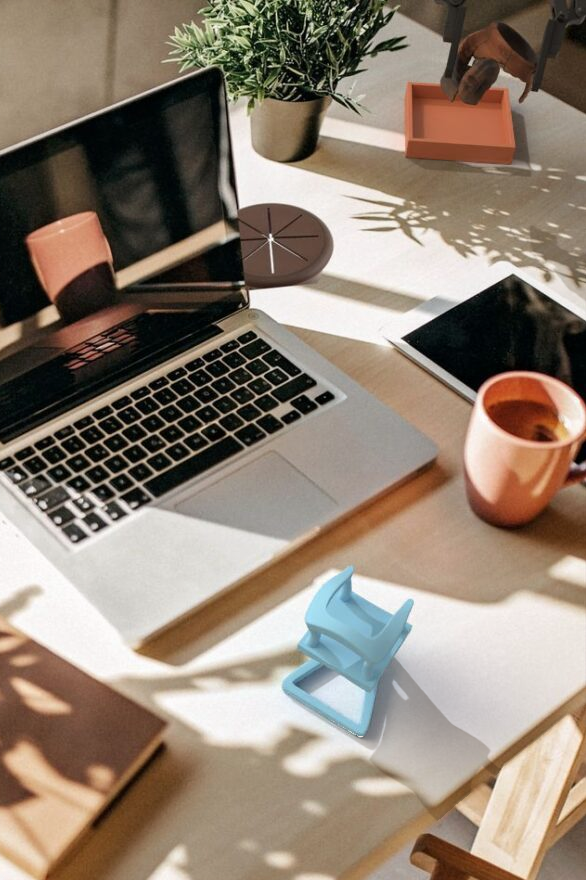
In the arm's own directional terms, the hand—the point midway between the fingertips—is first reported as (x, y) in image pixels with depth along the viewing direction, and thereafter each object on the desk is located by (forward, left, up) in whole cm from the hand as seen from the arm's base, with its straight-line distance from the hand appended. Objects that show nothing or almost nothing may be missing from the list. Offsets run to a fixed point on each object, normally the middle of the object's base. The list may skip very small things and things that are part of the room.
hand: (491, 81), depth 105 cm
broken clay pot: (0, -3, -4) cm, 5 cm away
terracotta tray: (0, -15, -15) cm, 21 cm away
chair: (+12, +64, -16) cm, 67 cm away
